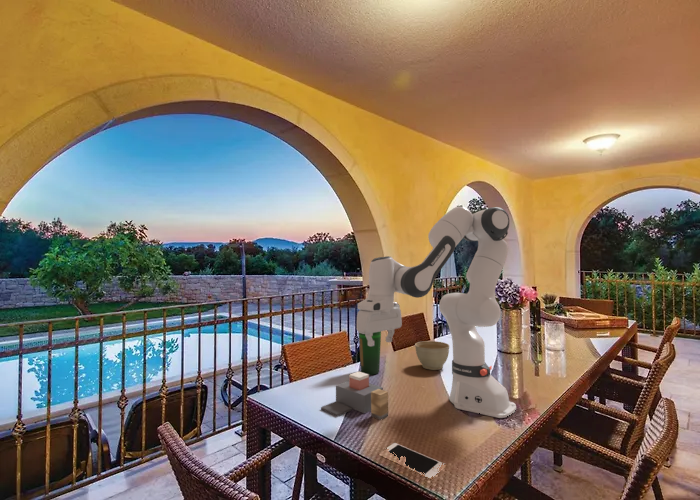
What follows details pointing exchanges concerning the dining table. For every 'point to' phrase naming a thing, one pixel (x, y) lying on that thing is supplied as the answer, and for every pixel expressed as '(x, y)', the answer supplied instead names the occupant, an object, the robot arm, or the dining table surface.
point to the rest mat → (336, 408)
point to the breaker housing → (355, 396)
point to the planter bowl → (432, 354)
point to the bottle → (370, 353)
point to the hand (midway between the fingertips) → (380, 343)
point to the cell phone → (416, 460)
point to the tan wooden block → (379, 404)
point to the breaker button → (359, 380)
